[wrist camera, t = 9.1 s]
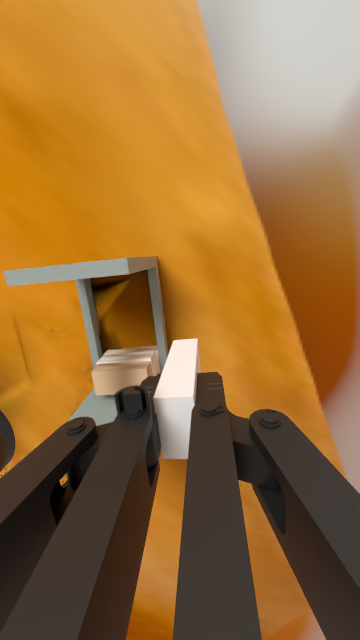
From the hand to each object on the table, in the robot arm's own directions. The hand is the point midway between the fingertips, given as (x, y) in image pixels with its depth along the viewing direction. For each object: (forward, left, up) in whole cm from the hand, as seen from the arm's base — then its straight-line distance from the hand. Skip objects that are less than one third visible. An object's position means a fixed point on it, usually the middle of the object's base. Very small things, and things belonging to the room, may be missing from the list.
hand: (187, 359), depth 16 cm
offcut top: (-9, -7, -13) cm, 17 cm away
